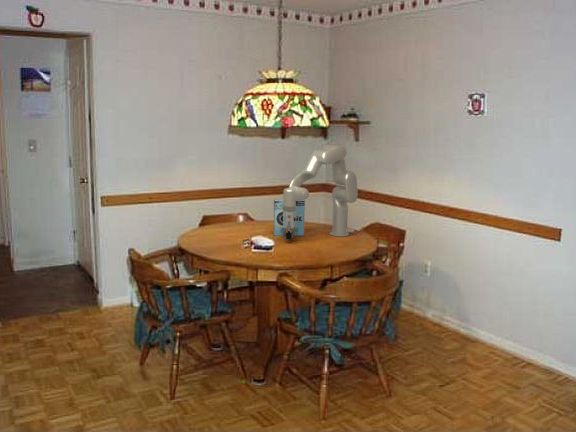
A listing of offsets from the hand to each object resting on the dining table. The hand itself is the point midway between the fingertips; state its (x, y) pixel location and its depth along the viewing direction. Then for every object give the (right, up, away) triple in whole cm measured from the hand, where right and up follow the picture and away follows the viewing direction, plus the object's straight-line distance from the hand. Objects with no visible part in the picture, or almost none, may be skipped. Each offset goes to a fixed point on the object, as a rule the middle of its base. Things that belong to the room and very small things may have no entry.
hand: (288, 238), depth 351 cm
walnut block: (0, -1, +12) cm, 12 cm away
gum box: (0, +1, +23) cm, 23 cm away
